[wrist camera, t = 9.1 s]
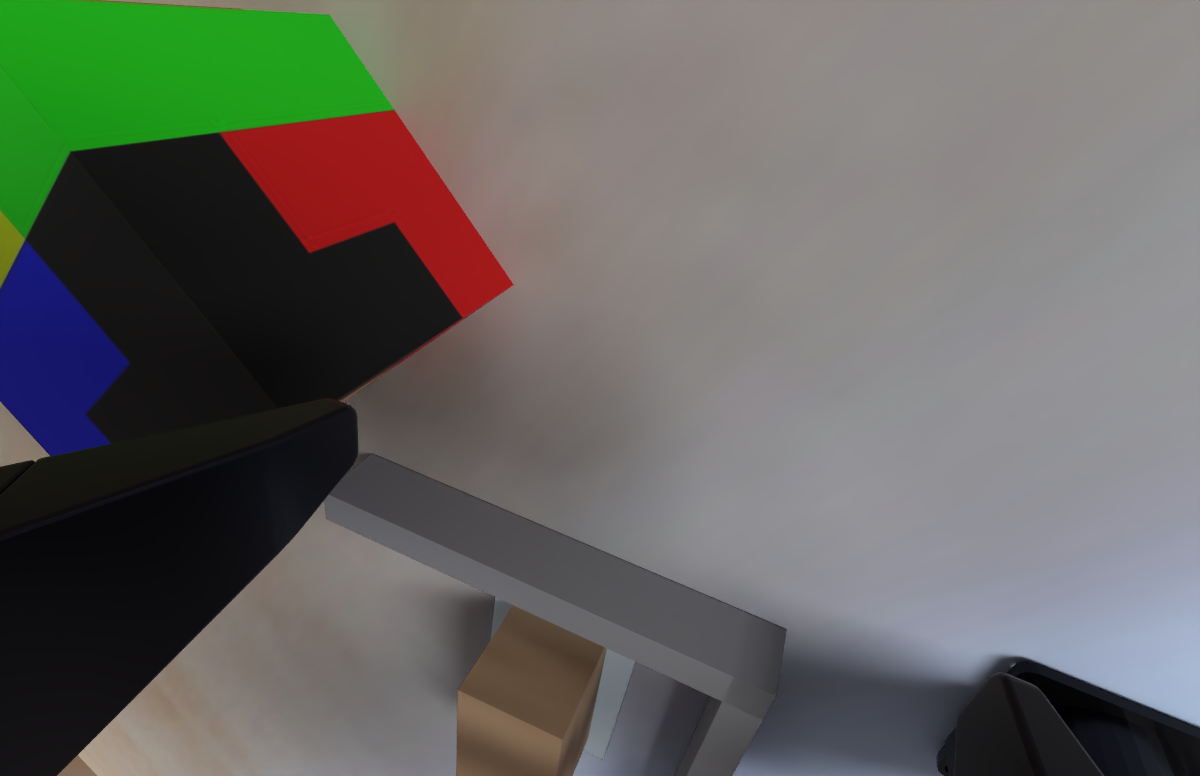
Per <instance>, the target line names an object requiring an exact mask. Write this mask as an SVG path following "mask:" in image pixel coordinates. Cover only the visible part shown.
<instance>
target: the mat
mask: <svg viewBox="0 0 1200 776" xmlns="http://www.w3.org/2000/svg"><path fill="white" fill-rule="evenodd" d="M512 606H513V605H512V604H510V603H507V602H505V601H503V600H501V599H499V598H497V597H495V605H494V613H493V621H492V629H491V637H490V640H491V638H492V637H493V635H494V634H495V632H496V631H497V629H498V628H499V626H500V625H501V623H502V622H503V620H504V619H505V617H506V615H507V614H508V612H509V611H510V609H511V608H512ZM634 665H635V661H633V660H631V659H629V658H627V657H624V656H622V655H620V654H618V653H616V652H614V651H611V650H609V649H607V650H606V655H605V660H604V665H603V669H602V674H601V679H600V684H599V688H598V693H597V698H596V703H595V707H594V712H593V717H592V722H591V726H590V731H589V736H588V740H587V742H586V744H585V747H584V749H583V750H584V751H586V752H588V753H590V754H592V755H594V756H596V757H598V758H600V759H602V760H603V758H604V756H605V753H606V750H607V747H608V744H609V741H610V738H611V735H612V732H613V729H614V726H615V723H616V720H617V717H618V714H619V711H620V707H621V704H622V701H623V698H624V695H625V692H626V689H627V686H628V683H629V680H630V677H631V674H632V671H633V668H634Z"/></svg>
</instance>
